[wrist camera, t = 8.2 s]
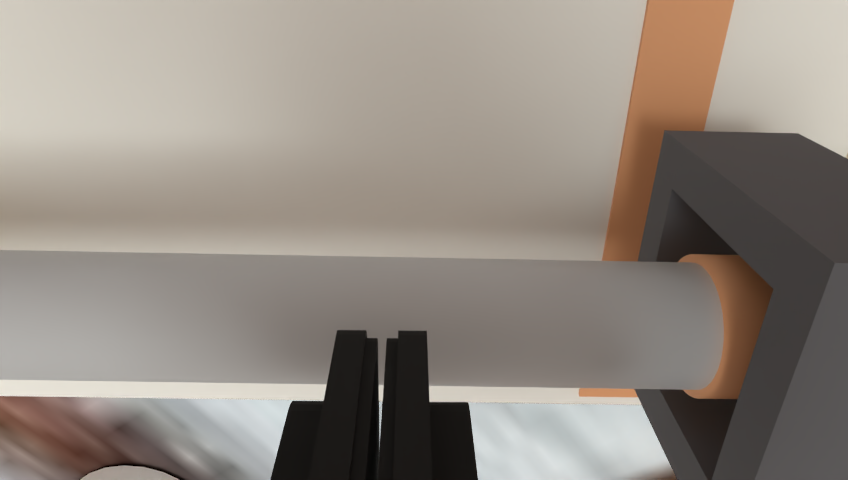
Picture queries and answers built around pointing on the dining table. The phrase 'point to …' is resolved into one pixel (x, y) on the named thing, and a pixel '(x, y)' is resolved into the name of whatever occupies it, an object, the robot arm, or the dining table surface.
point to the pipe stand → (382, 190)
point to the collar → (787, 311)
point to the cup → (127, 474)
